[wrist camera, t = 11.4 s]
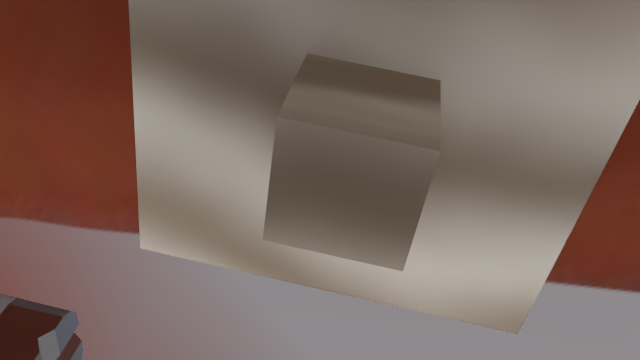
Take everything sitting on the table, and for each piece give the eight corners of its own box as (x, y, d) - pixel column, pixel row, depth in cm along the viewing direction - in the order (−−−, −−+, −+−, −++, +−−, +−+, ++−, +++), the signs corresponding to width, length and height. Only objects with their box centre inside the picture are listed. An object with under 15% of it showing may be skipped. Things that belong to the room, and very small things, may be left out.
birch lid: (132, -200, 15) (26, -191, 11) (721, -91, 14) (827, -42, 10) (148, 235, 24) (91, 325, 20) (515, 318, 23) (531, 428, 19)
